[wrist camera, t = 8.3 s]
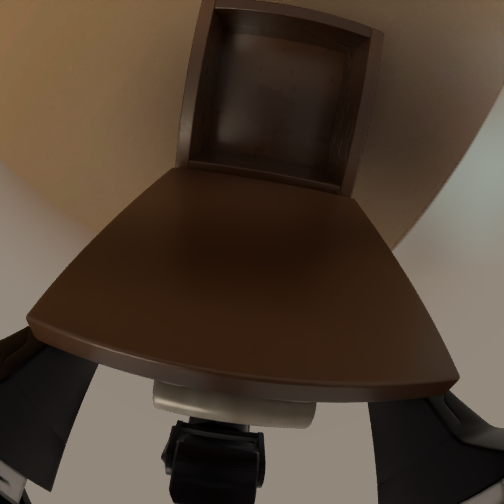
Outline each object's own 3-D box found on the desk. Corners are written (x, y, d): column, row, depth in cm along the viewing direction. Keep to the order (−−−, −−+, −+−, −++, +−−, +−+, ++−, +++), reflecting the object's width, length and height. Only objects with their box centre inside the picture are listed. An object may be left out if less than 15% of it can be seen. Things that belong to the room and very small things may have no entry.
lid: (23, 316, 3) (95, 432, 6) (462, 378, 4) (353, 466, 6) (172, 167, 11) (169, 265, 14) (354, 198, 11) (323, 290, 14)
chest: (219, 25, 12) (202, -3, 8) (354, 50, 12) (384, 32, 8) (197, 156, 16) (174, 172, 12) (328, 178, 16) (350, 202, 12)
